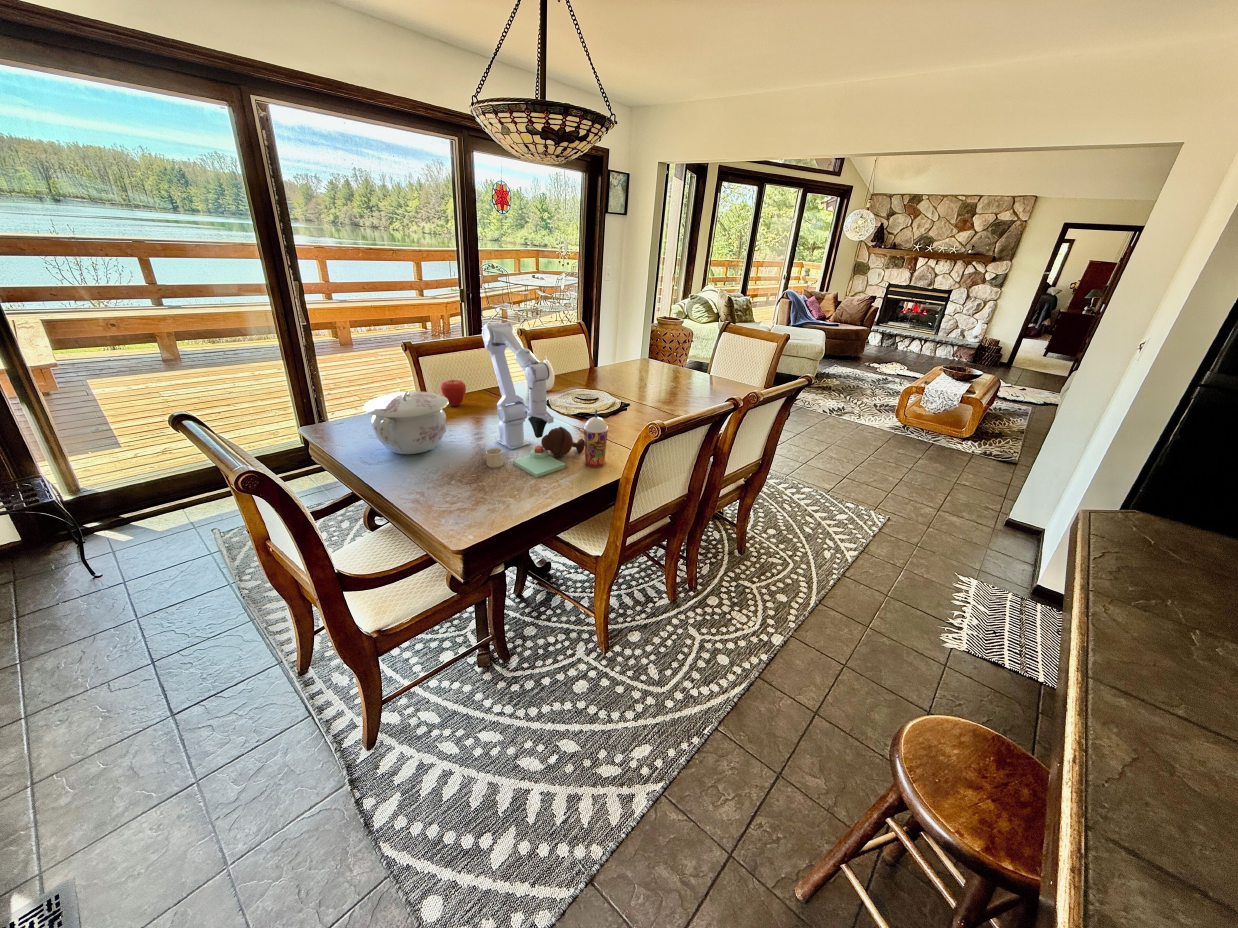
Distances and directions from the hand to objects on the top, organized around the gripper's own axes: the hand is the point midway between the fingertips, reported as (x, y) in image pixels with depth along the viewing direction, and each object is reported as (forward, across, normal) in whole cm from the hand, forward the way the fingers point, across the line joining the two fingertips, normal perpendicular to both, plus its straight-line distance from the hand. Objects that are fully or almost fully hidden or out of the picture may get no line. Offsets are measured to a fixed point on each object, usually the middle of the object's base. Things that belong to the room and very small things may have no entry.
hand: (538, 436), depth 167 cm
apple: (+9, -70, +4) cm, 71 cm away
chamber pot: (+9, -36, -30) cm, 48 cm away
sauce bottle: (+9, -64, +52) cm, 83 cm away
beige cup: (+8, -6, -14) cm, 18 cm away
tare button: (+6, 0, 0) cm, 6 cm away
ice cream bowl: (+6, +5, +15) cm, 17 cm away
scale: (+8, +4, -4) cm, 10 cm away
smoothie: (+9, +16, +12) cm, 22 cm away
